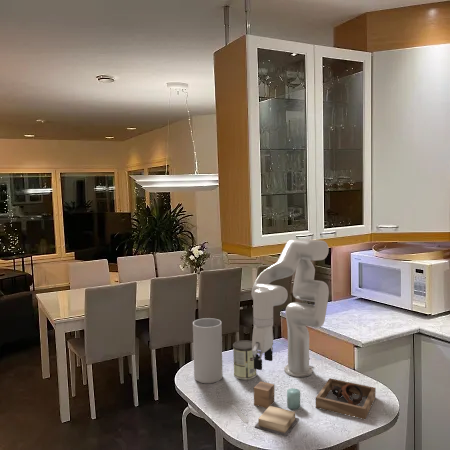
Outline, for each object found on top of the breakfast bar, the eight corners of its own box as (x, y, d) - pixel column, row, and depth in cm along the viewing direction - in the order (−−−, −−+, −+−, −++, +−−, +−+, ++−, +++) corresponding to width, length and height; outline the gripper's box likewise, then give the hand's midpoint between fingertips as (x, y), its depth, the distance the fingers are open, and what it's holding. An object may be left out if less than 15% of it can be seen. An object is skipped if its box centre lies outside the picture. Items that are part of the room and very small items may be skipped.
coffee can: (238, 368, 205) (238, 338, 204) (259, 371, 201) (259, 341, 199) (229, 377, 196) (229, 346, 194) (251, 381, 191) (251, 350, 190)
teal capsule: (289, 401, 174) (289, 387, 173) (302, 404, 171) (302, 390, 170) (285, 407, 169) (285, 392, 169) (297, 410, 167) (297, 395, 166)
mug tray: (329, 387, 185) (329, 378, 184) (375, 397, 176) (375, 387, 175) (315, 407, 169) (315, 397, 168) (365, 419, 160) (365, 409, 159)
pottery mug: (359, 397, 177) (365, 384, 173) (358, 417, 170) (364, 405, 165) (329, 387, 179) (334, 375, 175) (327, 407, 172) (332, 395, 167)
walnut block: (260, 398, 177) (260, 381, 176) (274, 401, 174) (274, 384, 173) (253, 404, 172) (253, 387, 171) (268, 408, 169) (268, 391, 168)
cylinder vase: (201, 369, 204) (200, 316, 201) (226, 373, 199) (225, 319, 197) (189, 381, 193) (187, 325, 190) (215, 386, 188) (214, 328, 185)
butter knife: (242, 423, 159) (249, 421, 160) (216, 391, 184) (222, 389, 185) (242, 425, 159) (250, 422, 160) (216, 392, 184) (222, 390, 185)
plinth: (268, 411, 167) (268, 403, 166) (298, 419, 161) (298, 411, 160) (254, 427, 156) (254, 419, 156) (286, 436, 150) (286, 428, 150)
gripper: (263, 314, 179) (263, 355, 180) (244, 326, 164) (244, 371, 165) (281, 316, 175) (280, 358, 177) (262, 329, 160) (262, 375, 162)
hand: (263, 364), depth 171 cm, fingers open, 9 cm apart
